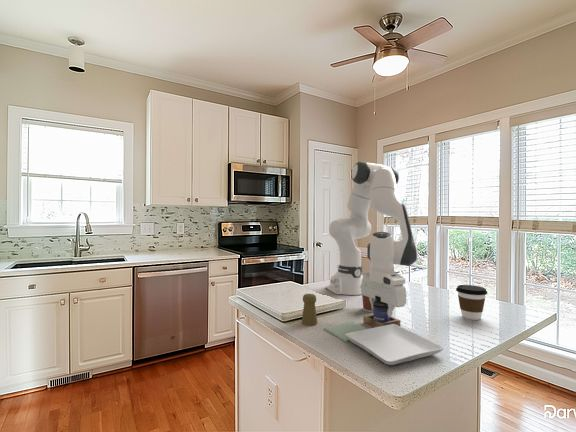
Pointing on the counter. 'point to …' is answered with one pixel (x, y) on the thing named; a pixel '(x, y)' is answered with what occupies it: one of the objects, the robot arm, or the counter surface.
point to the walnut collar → (374, 323)
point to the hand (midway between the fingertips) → (381, 312)
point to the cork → (309, 310)
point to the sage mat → (344, 329)
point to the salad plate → (393, 344)
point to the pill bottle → (380, 310)
